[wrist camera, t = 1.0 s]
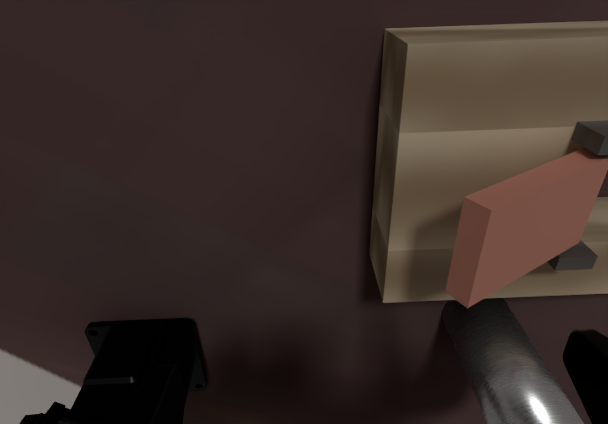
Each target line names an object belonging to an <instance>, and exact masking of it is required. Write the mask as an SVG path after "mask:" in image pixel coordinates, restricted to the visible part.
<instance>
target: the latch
mask: <svg viewBox="0 0 608 424" xmlns="http://www.w3.org/2000/svg"><path fill="white" fill-rule="evenodd" d="M607 170H608V155H597V154H595V153H594V152H592V151H590V150H589V149H587V148H586V147H585V148H582V149H580V150H577V151H575V152H573V153H570V154H568V155H565V156H563V157H560V158H558V159H555V160H553V161H551V162H548V163H546V164H543V165H541V166H538V167H536V168H533V169H531V170H529V171H526V172H524V173H521V174H519V175H516V176H514V177H511V178H509V179H507V180H504V181H502V182H499V183H497V184H494V185H492V186H489V187H487V188H485V189H482V190H480V191H477V192H475V193H472V194H470V195H467V196H465V197H464V200H463V205H462V210H461V215H460V220H459V225H458V230H457V235H456V240H455V245H454V250H453V255H452V260H451V265H450V270H449V275H448V280H447V285H446V290H445V292H446V293H447V294H449V295H450V296H451V297H453V298H454V299H456V300H457V301H458V302H460V303H461V304H462V305H464V306H465V307H466V308H469V307H471V306H472V305H474V304H476V303H477V302H479V301H481V300H482V299H484V298H486V297H488V296H489V295H491V294H493V293H494V292H496V291H498V290H499V289H501V288H503V287H505V286H506V285H508V284H510V283H511V282H513V281H515V280H516V279H518V278H520V277H522V276H523V275H525V274H527V273H528V272H530V271H532V270H533V269H535V268H537V267H539V266H540V265H542V264H544V263H545V262H547V261H549V260H550V259H552V258H554V257H556V256H557V255H559V254H561V253H562V252H564V251H566V250H567V249H569V248H571V247H573V246H574V245H576V244H578V243H579V241H580V239H581V236H582V233H583V231H584V228H585V226H586V223H587V221H588V218H589V216H590V213H591V211H592V208H593V206H594V203H595V201H596V198H597V196H598V193H599V190H600V188H601V185H602V183H603V180H604V178H605V175H606V173H607Z"/></svg>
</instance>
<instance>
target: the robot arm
mask: <svg viewBox="0 0 608 424" xmlns="http://www.w3.org/2000/svg"><path fill="white" fill-rule="evenodd" d="M184 326H186V327H184ZM85 334H86V337H87V339H88V341H89V343H90V346H91V348H92V350H93V352H94V355H95V358H94V360H93V362H92V364H91V366H90V368H89V370H88V372H87V374H86V376H85V378H84V381H83V383H84V384H83V386H82V388H81V390H80V392H79V394H78V396H77V398H76V400H75V402H74V404H73V406H72V408H71V410H70V409H68V408H65V405H63V404H60V403H57V402H54V403H53V405H52V406H51V407H50V408H49V410H48V411H47V412H46V414H43V413H40V414H34V415H25V417H24V418H23V419H22V421H21V422H20V424H183V415H184V407H185V402H186V398H187V394H188V391H202V390H204V389H206V387H207V377H206V373H205V368H204V364H203V360H202V356H201V352H200V348H199V343H198V339H197V335H196V331H195V327H194V323H193V321H191V320H190V319H187V318H177V319H154V320H131V321H107V322H91V323H89V324H88V326H87V328H86V329H85ZM563 361H564V364H565V367H566V369H567V371H568V373H569V376H570V378H571V380H572V382H573V384H574V386H575V388H576V391H577V393H578V395H579V397H580V399H581V401H582V403H583V406H584V408H585V410H586V412H587V414H588V416H589V418H590V421H591V423H592V424H608V337H606V336H604V335H603V334H601V333H599V332H598V331H596V330H593V329H578V330H573V331H572V332H571V333H570V336H569V338H568V341H567V344H566V347H565V349H564V352H563Z"/></svg>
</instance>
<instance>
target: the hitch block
mask: <svg viewBox="0 0 608 424" xmlns="http://www.w3.org/2000/svg"><path fill="white" fill-rule="evenodd" d="M585 147H586V148H587V149H589V150H590V151H592V152H594V153H595V154H597V155H608V21H583V22H555V23H528V24H500V25H472V26H445V27H417V28H389V29H385V32H384V47H383V62H382V77H381V91H380V106H379V121H378V136H377V151H376V165H375V180H374V195H373V210H372V224H371V239H370V258H371V261H372V265H373V268H374V272H375V276H376V279H377V283H378V287H379V290H380V294H381V298H382V301H383V303H391V302H415V301H438V300H456V299H454V298H453V297H451V296H450V295H449V294H447V293H446V292H445V290H446V285H447V280H448V275H449V270H450V265H451V260H452V255H453V250H454V245H455V240H456V235H457V230H458V225H459V220H460V215H461V210H462V205H463V200H464V197H465V196H467V195H470V194H472V193H475V192H477V191H480V190H482V189H485V188H487V187H489V186H492V185H494V184H497V183H499V182H502V181H504V180H507V179H509V178H511V177H514V176H516V175H519V174H521V173H524V172H526V171H529V170H531V169H533V168H536V167H538V166H541V165H543V164H546V163H548V162H551V161H553V160H555V159H558V158H560V157H563V156H565V155H568V154H570V153H573V152H575V151H577V150H580V149H582V148H585ZM603 293H608V197H597V198H596V201H595V203H594V206H593V208H592V211H591V213H590V216H589V218H588V221H587V223H586V226H585V228H584V231H583V233H582V236H581V239H580V241H579V243H578V244H576V245H574V246H573V247H571V248H569V249H567V250H566V251H564V252H562V253H561V254H559V255H557V256H556V257H554V258H552V259H550V260H549V261H547V262H545V263H544V264H542V265H540V266H539V267H537V268H535V269H533V270H532V271H530V272H528V273H527V274H525V275H523V276H522V277H520V278H518V279H516V280H515V281H513V282H511V283H510V284H508V285H506V286H505V287H503V288H501V289H499V290H498V291H496V292H494V293H493V294H491V295H489V296H488V297H486V298H509V297H533V296H556V295H580V294H603ZM486 298H484V299H486Z"/></svg>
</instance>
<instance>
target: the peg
mask: <svg viewBox="0 0 608 424" xmlns="http://www.w3.org/2000/svg"><path fill="white" fill-rule="evenodd" d="M442 319H443V322H444V324H445V326H446V329H447V331H448V333H449V336H450V338H451V340H452V343H453V345H454V347H455V350H456V352H457V354H458V357H459V359H460V361H461V364H462V366H463V368H464V371H465V373H466V375H467V378H468V380H469V382H470V384H471V387H472V389H473V391H474V394H475V396H476V398H477V401H478V403H479V405H480V408H481V410H482V412H483V415H484V417H485V419H486V422H487V424H584V423H583V422H582V420H581V418H580V417H579V415H578V414H577V412H576V411H575V409H574V408H573V406H572V404H571V403H570V401H569V400H568V398H567V397H566V395H565V394H564V392H563V390H562V389H561V387H560V386H559V384H558V383H557V381H556V380H555V378H554V376H553V375H552V373H551V372H550V370H549V369H548V367H547V365H546V364H545V362H544V361H543V359H542V358H541V356H540V355H539V353H538V351H537V350H536V348H535V347H534V345H533V344H532V342H531V341H530V339H529V337H528V336H527V334H526V333H525V331H524V330H523V328H522V327H521V325H520V323H519V322H518V320H517V319H516V317H515V316H514V314H513V313H512V311H511V309H510V308H509V306H508V305H507V303H506V302H505V300H504V298H486V299H482V300H481V301H479V302H477V303H476V304H474V305H472V306H471V307H469V308H466V307H465V306H464V305H462V304H461V303H460V302H458V301H457V300H449V301H448V303H447V304H446V305H445V307H444V309H443V312H442Z"/></svg>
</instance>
